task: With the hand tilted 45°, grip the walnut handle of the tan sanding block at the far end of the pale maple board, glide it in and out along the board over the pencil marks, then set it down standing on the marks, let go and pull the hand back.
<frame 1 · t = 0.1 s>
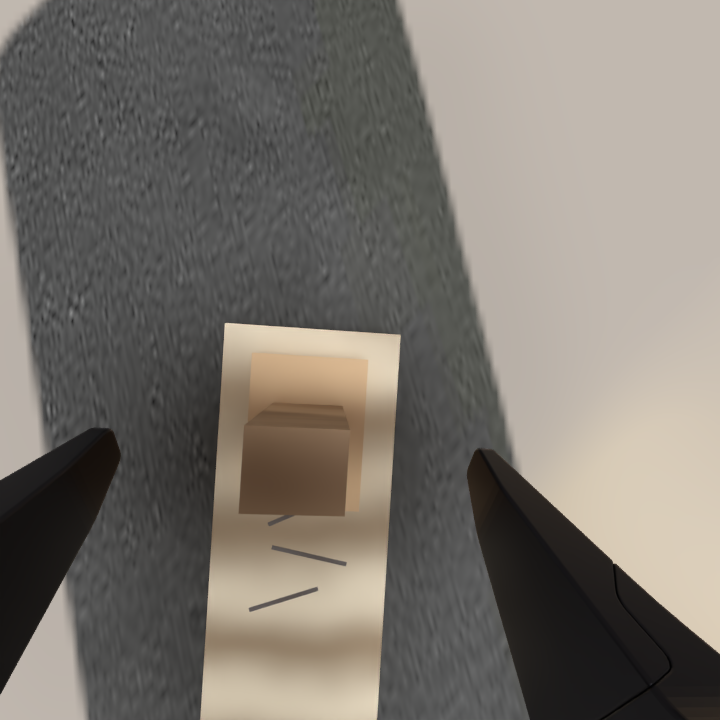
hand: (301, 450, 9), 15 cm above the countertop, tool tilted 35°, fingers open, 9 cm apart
board: (304, 515, 24), on the countertop
sanding block: (308, 426, 21), point 3 cm above the countertop, touching board
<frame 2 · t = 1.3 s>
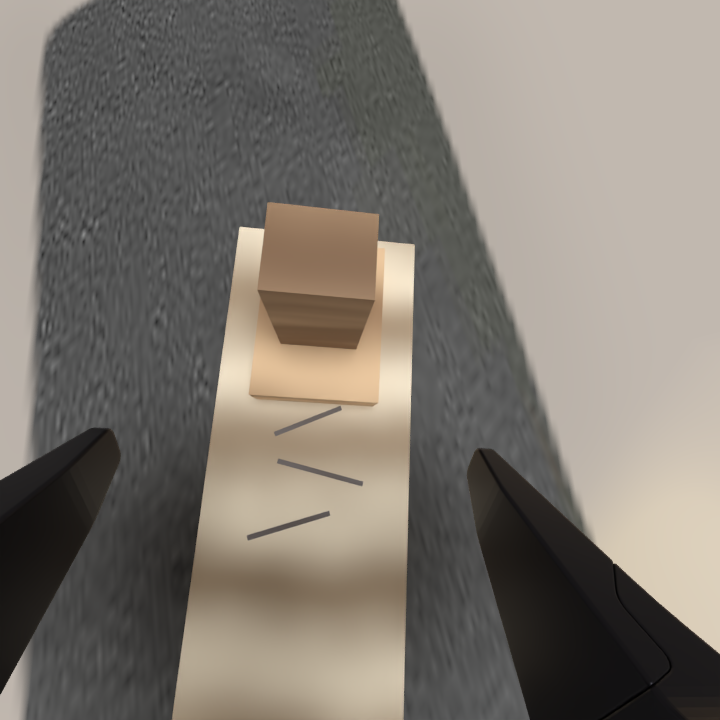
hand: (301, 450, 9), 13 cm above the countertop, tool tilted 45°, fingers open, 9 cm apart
board: (313, 449, 21), on the countertop
sanding block: (321, 328, 20), point 3 cm above the countertop, touching board
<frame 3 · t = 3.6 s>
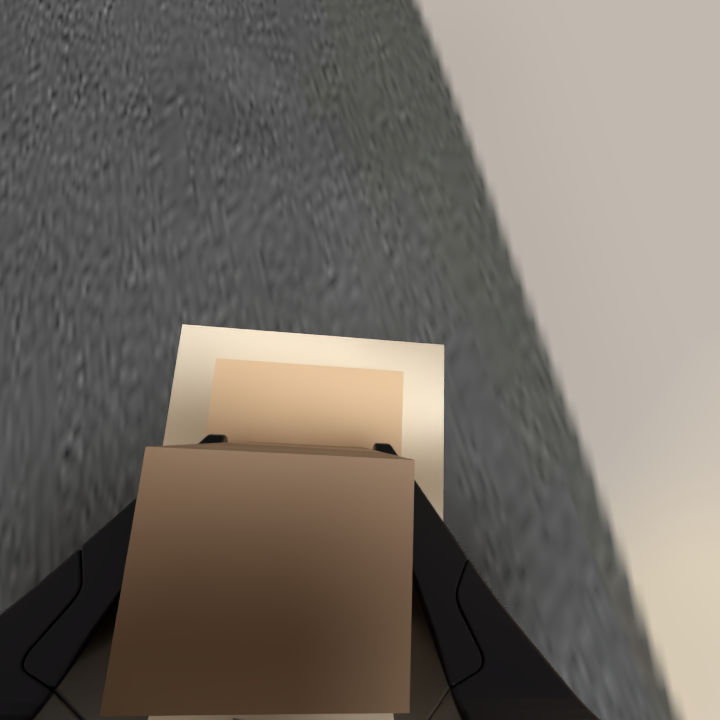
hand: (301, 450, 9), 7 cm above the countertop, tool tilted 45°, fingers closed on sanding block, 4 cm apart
board: (294, 648, 15), on the countertop
sanding block: (304, 487, 13), point 3 cm above the countertop, touching board, gripper
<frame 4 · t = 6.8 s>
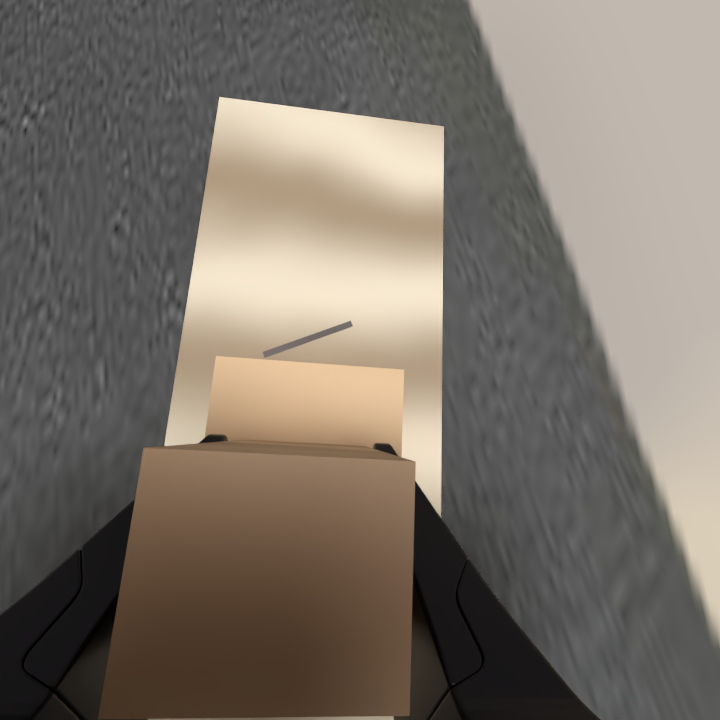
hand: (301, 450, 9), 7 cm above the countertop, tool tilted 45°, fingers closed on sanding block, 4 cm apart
board: (314, 387, 17), on the countertop
sanding block: (304, 485, 13), point 3 cm above the countertop, touching gripper
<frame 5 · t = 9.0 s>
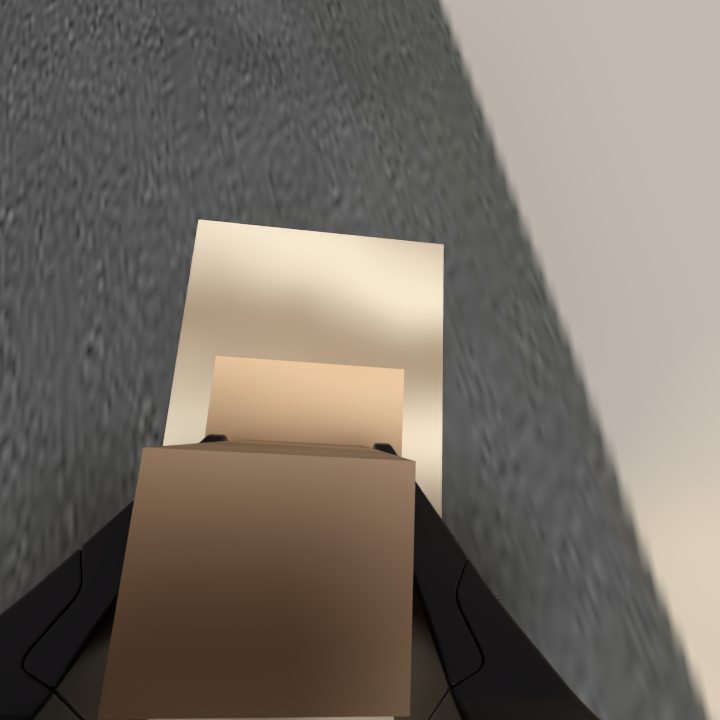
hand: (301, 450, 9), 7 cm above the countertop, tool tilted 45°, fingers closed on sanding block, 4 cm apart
board: (303, 528, 16), on the countertop
sanding block: (304, 484, 13), point 3 cm above the countertop, touching gripper
when the fingers open (7 cm above the countertop, at t = 10.3 s): sanding block stays where it is, resting on board.
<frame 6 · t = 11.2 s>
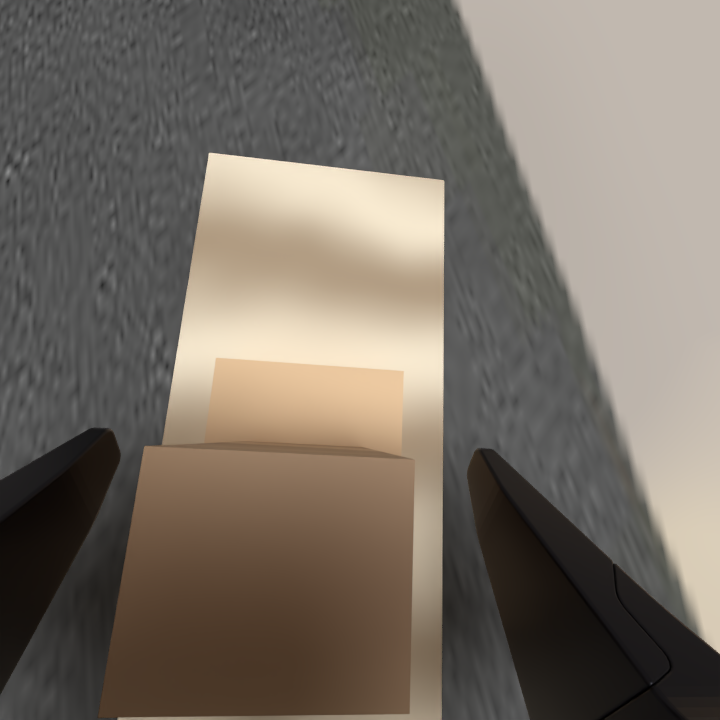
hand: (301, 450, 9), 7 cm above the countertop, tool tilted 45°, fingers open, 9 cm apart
board: (309, 453, 16), on the countertop
sanding block: (304, 486, 13), point 3 cm above the countertop, touching board
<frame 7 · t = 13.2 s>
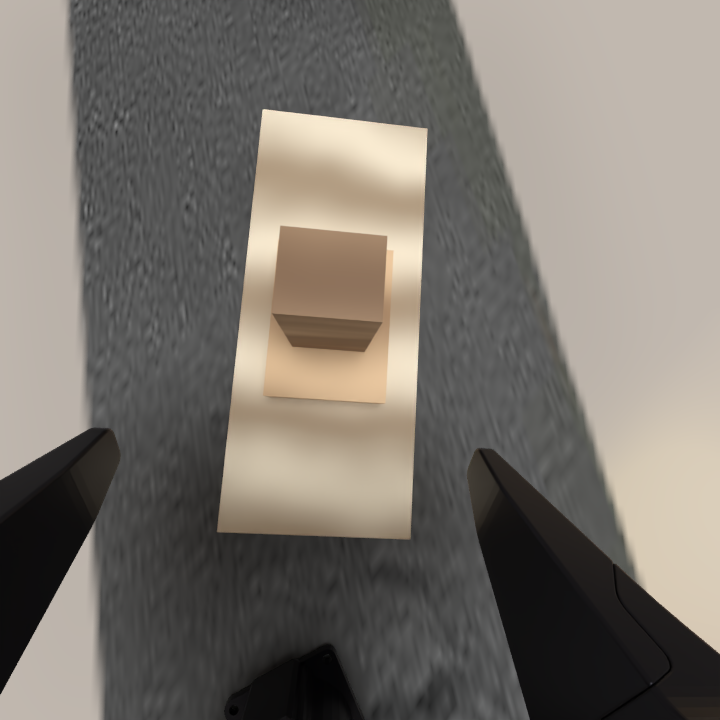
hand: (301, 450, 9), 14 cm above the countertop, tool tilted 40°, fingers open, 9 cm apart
board: (331, 323, 24), on the countertop
sanding block: (330, 328, 21), point 3 cm above the countertop, touching board
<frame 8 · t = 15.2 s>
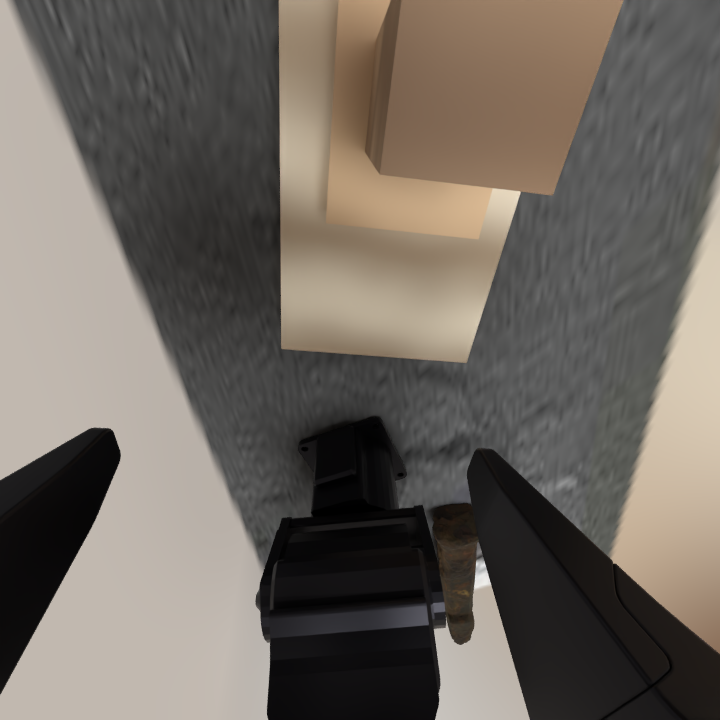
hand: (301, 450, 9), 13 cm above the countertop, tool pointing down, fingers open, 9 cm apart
board: (408, 82, 16), on the countertop
hand tool: (455, 555, 37), on the countertop
sanding block: (414, 108, 14), point 3 cm above the countertop, touching board
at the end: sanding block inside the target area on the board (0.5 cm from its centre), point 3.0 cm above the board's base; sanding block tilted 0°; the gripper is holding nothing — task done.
